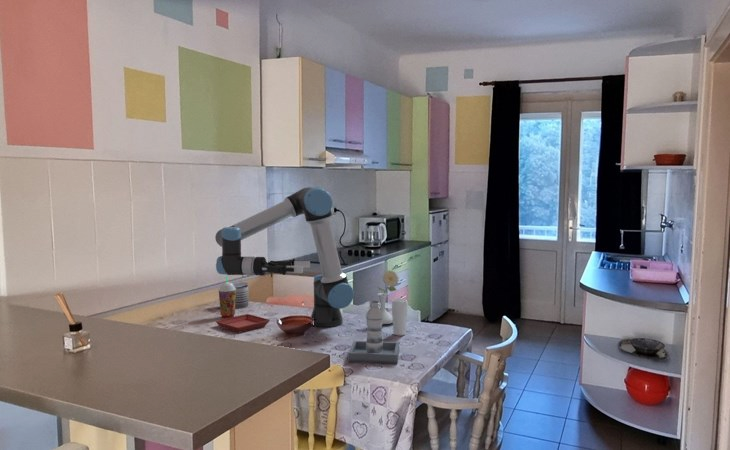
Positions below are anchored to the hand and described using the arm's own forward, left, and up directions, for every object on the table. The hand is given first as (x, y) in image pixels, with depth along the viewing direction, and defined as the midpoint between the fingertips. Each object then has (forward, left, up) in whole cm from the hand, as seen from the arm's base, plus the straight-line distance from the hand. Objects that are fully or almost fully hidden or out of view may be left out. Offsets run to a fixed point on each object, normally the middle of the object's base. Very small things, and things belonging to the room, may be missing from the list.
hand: (306, 266), depth 224 cm
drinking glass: (-20, +37, -32) cm, 53 cm away
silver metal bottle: (+12, +29, -31) cm, 44 cm away
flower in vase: (-38, +29, -32) cm, 57 cm away
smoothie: (-41, -48, -32) cm, 71 cm away
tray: (+12, +29, -32) cm, 45 cm away
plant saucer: (-25, -35, -33) cm, 54 cm away
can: (-64, -51, -32) cm, 88 cm away
